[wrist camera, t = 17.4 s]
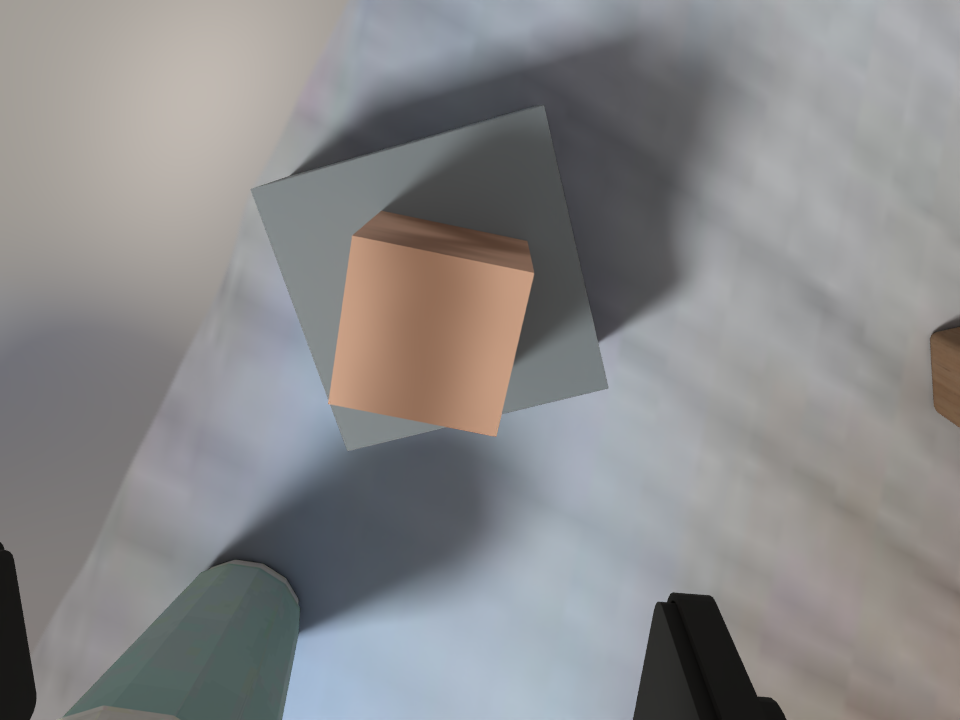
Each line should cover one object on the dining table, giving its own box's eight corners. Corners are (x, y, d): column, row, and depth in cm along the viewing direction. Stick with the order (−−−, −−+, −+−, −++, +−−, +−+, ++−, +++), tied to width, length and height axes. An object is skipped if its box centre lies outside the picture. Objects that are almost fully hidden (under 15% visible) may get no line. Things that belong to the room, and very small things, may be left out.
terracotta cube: (527, 240, 29) (534, 272, 23) (496, 376, 31) (496, 436, 25) (381, 210, 29) (352, 235, 23) (359, 349, 31) (327, 404, 25)
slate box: (535, 105, 33) (543, 105, 27) (590, 344, 37) (608, 388, 31) (291, 175, 34) (250, 189, 28) (369, 399, 38) (347, 451, 32)
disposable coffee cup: (370, 621, 42) (307, 880, 28) (239, 704, 45) (120, 980, 31) (248, 495, 40) (110, 710, 25) (115, 589, 42) (-79, 834, 28)
